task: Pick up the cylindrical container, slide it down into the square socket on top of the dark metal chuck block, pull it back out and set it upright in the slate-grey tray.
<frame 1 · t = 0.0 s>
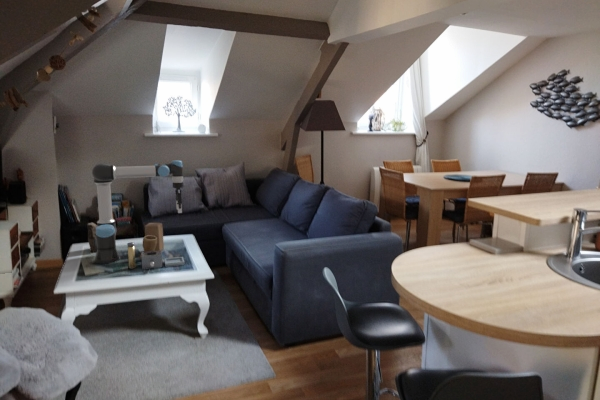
hand: (179, 211, 331), 28 cm above the table, tool pointing down, fingers open, 13 cm apart
chuck: (152, 265, 296), on the table
wooden block: (155, 251, 330), on the table
tray: (174, 263, 300), on the table
owl: (98, 250, 333), on the table
stone cup: (149, 257, 315), on the table
cylindrical container: (132, 267, 292), on the table
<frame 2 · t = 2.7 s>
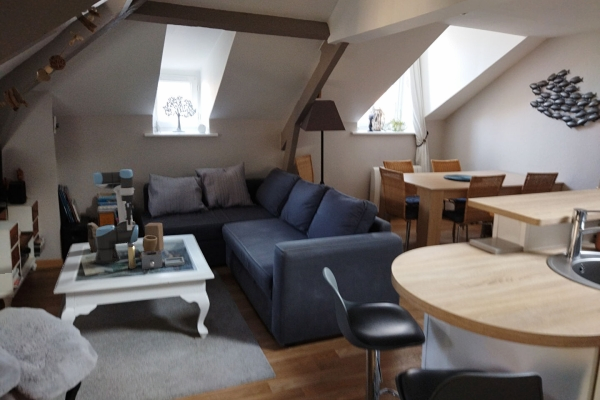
hand: (129, 227, 288), 26 cm above the table, tool pointing down, fingers open, 13 cm apart
nothing on the table moved.
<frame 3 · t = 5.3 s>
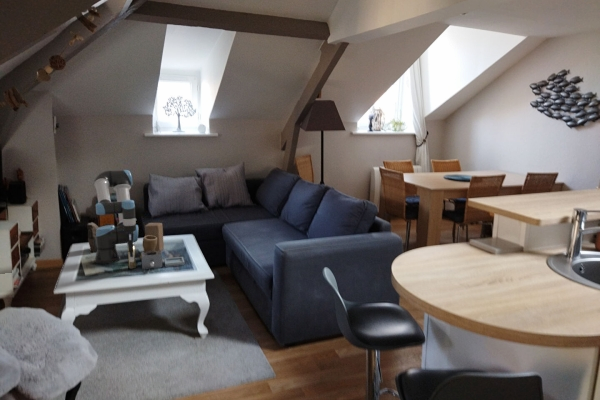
hand: (131, 260, 291), 5 cm above the table, tool pointing down, fingers closed on cylindrical container, 4 cm apart
cylindrical container: (132, 267, 292), on the table, touching gripper
everything else where it was.
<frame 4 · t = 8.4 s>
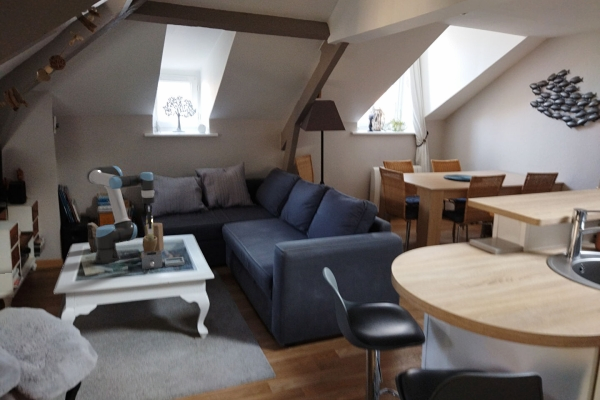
hand: (150, 232, 292), 22 cm above the table, tool pointing down, fingers closed on cylindrical container, 4 cm apart
cylindrical container: (150, 240, 293), point 17 cm above the table, touching gripper
everything else where it was.
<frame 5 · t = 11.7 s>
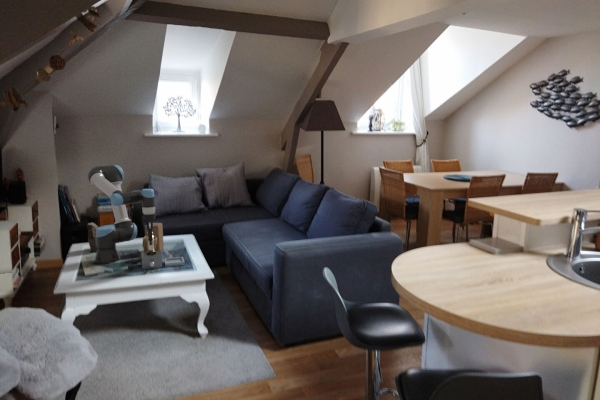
hand: (150, 248, 294), 11 cm above the table, tool pointing down, fingers closed on cylindrical container, 4 cm apart
cylindrical container: (151, 256, 295), point 6 cm above the table, touching gripper
everything else where it was.
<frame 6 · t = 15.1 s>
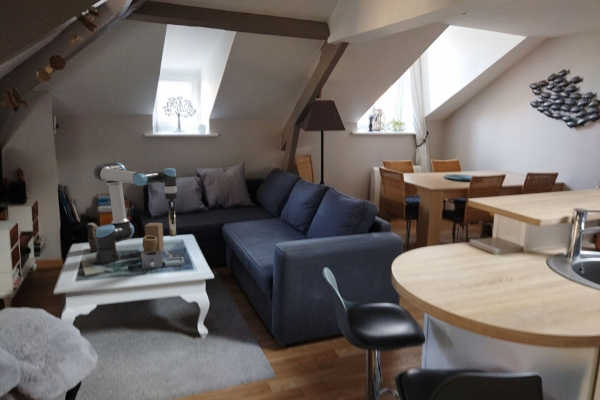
hand: (172, 228, 296), 24 cm above the table, tool pointing down, fingers closed on cylindrical container, 4 cm apart
cylindrical container: (173, 235, 297), point 19 cm above the table, touching gripper
everything else where it was.
when the fingers open (7 cm above the table, at t = 18.2 s): cylindrical container drops 1 cm, resting on tray.
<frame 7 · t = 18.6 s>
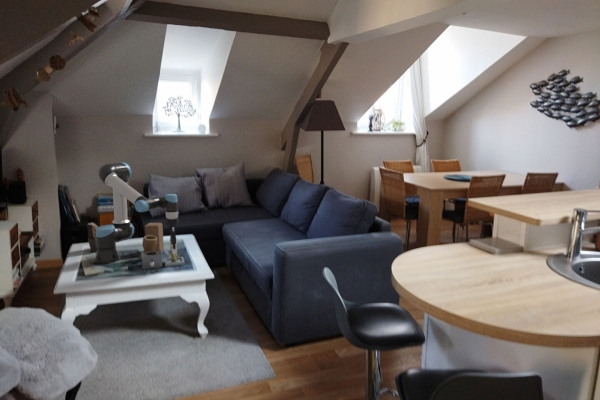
hand: (173, 251, 299), 8 cm above the table, tool pointing down, fingers open, 9 cm apart
cylindrical container: (174, 261, 300), point 1 cm above the table, touching tray
everything else where it was.
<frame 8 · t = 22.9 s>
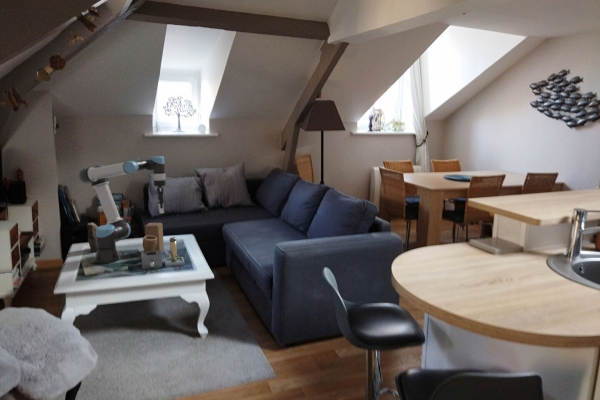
hand: (161, 211, 306), 33 cm above the table, tool pointing down, fingers open, 13 cm apart
nothing on the table moved.
at the end: cylindrical container inside the target area on the tray (0.0 cm from its centre), point 1.0 cm above the tray's base; cylindrical container tilted 1°; the gripper is holding nothing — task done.
